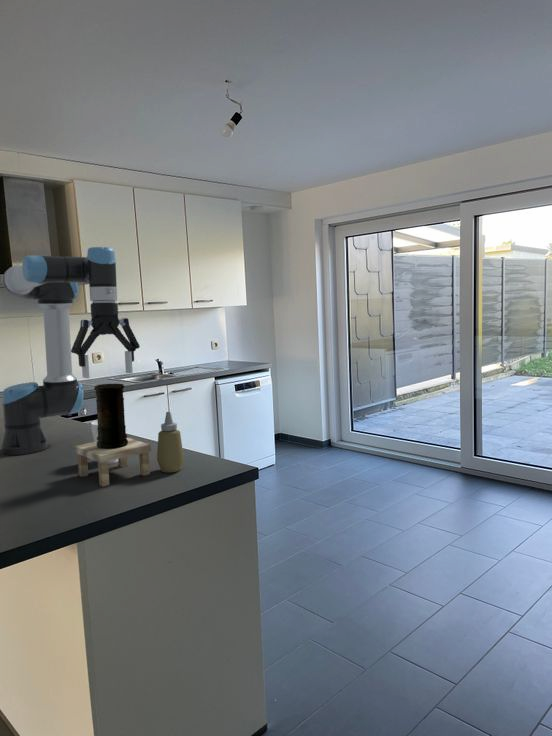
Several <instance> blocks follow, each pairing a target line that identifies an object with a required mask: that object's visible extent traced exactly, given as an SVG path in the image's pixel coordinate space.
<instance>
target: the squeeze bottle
mask: <svg viewBox="0 0 552 736" xmlns="http://www.w3.org/2000/svg"><path fill="white" fill-rule="evenodd" d="M164 418H165V419H164V422H163V423H161V424H160V429H161V430H160V431H159V432H158V433H157V435H158V437H157V449H156V450H157V453H156V461H157V463H158V466H159V468H160V469H159V470H160V471H161V472H162V473H176V472H179V471H181V469H182V467H183V464H184V459H185V458H184V451H183V449H184V448H183V443H182V437H181V431H180V430H179V429H178V423H177V422H173V421H174V420H173V417H172V413H171V411H166V413H165V417H164Z"/></svg>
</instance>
